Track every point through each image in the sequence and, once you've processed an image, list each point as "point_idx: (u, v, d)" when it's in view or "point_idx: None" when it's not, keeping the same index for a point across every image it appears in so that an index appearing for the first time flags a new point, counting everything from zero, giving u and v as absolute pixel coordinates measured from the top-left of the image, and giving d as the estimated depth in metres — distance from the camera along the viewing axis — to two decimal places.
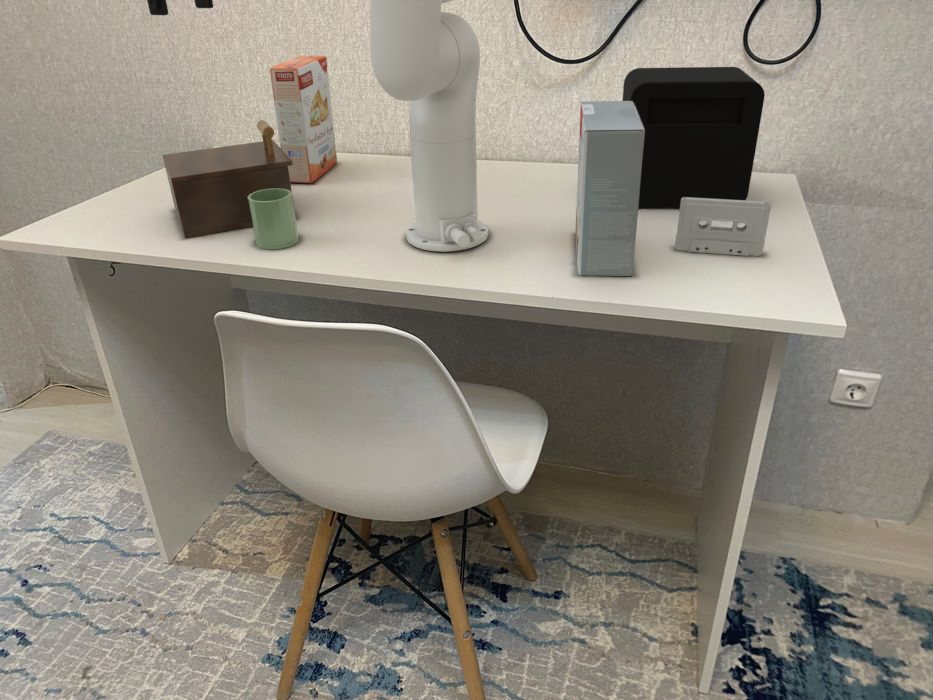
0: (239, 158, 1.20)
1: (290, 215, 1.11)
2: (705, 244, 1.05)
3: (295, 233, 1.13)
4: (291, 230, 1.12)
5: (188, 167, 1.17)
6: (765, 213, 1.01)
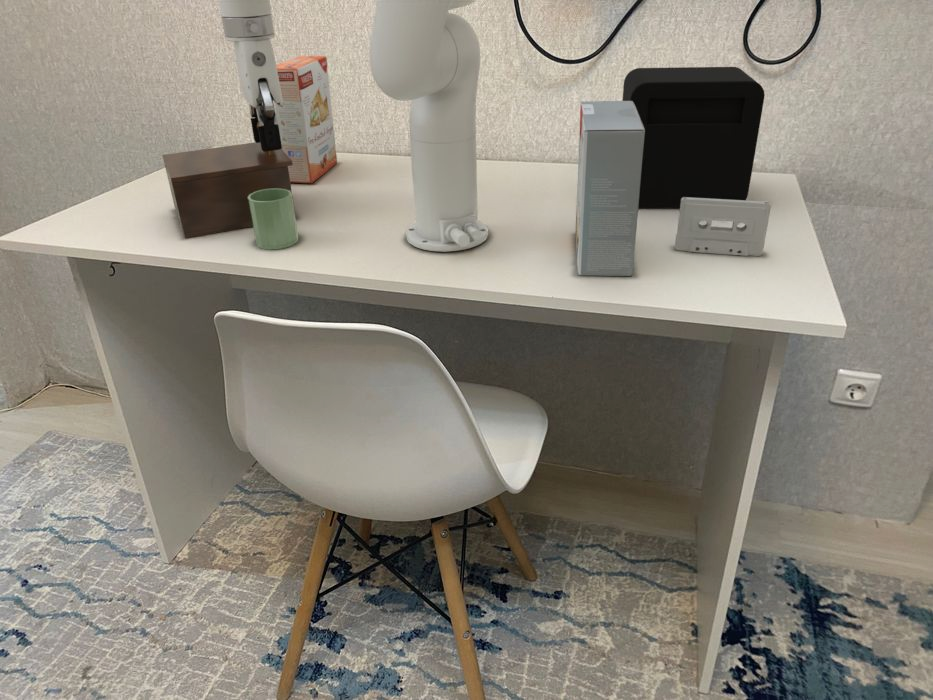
0: (239, 158, 1.20)
1: (290, 215, 1.11)
2: (705, 244, 1.05)
3: (295, 233, 1.13)
4: (291, 230, 1.12)
5: (188, 167, 1.17)
6: (765, 213, 1.01)
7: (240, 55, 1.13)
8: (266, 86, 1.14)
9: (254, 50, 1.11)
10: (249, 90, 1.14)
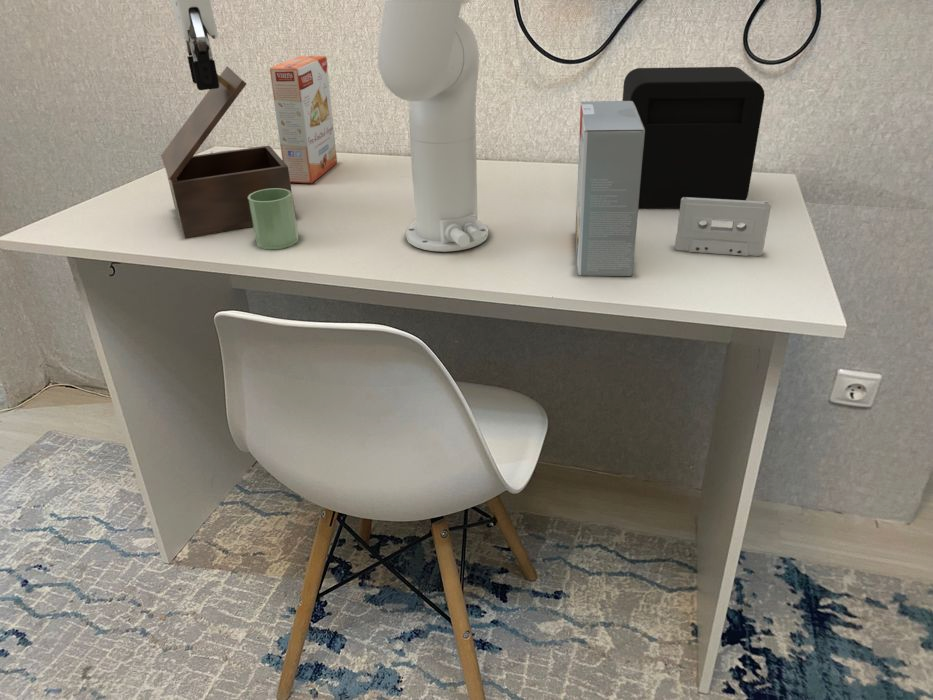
0: (207, 112, 1.15)
1: (290, 215, 1.11)
2: (705, 244, 1.05)
3: (295, 233, 1.13)
4: (291, 230, 1.12)
5: (177, 155, 1.15)
6: (765, 213, 1.01)
7: None
8: (198, 16, 1.06)
9: None
10: (180, 21, 1.06)
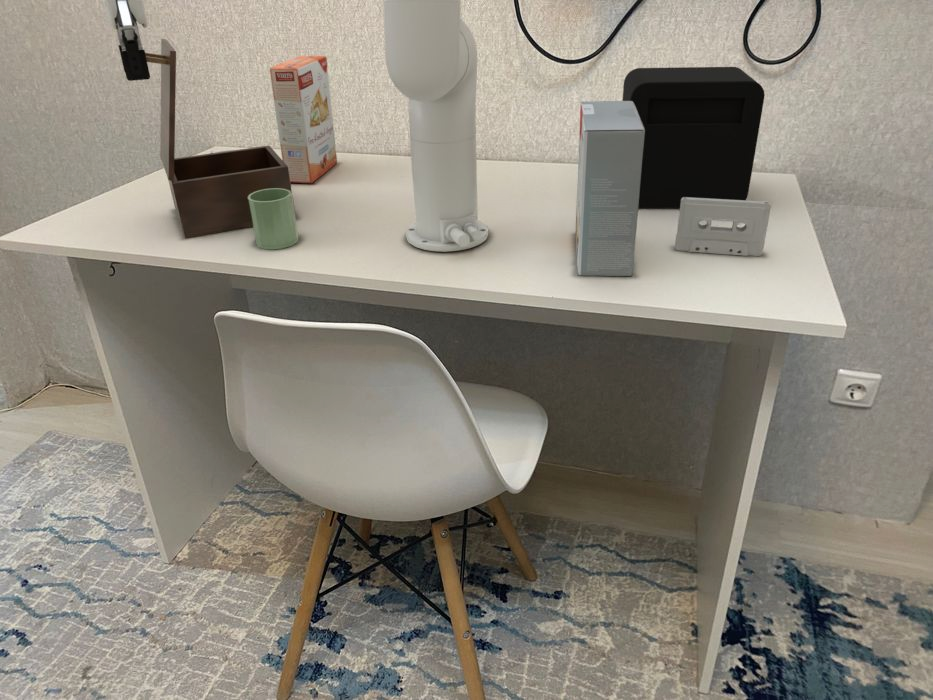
0: None
1: (290, 215, 1.11)
2: (705, 244, 1.05)
3: (295, 233, 1.13)
4: (291, 230, 1.12)
5: (166, 152, 1.14)
6: (765, 213, 1.01)
7: None
8: (125, 3, 1.01)
9: None
10: (106, 8, 1.02)
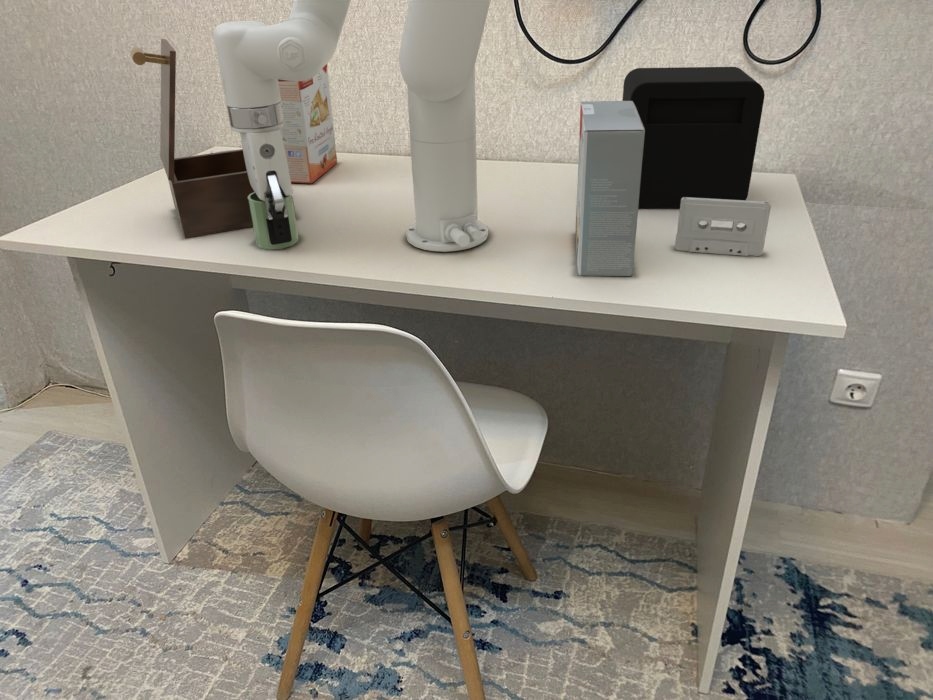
0: (165, 97, 1.12)
1: (290, 215, 1.11)
2: (705, 244, 1.05)
3: (295, 233, 1.13)
4: (291, 230, 1.12)
5: (165, 152, 1.14)
6: (765, 213, 1.01)
7: (247, 146, 1.04)
8: (275, 179, 1.05)
9: (262, 142, 1.02)
10: (256, 183, 1.05)
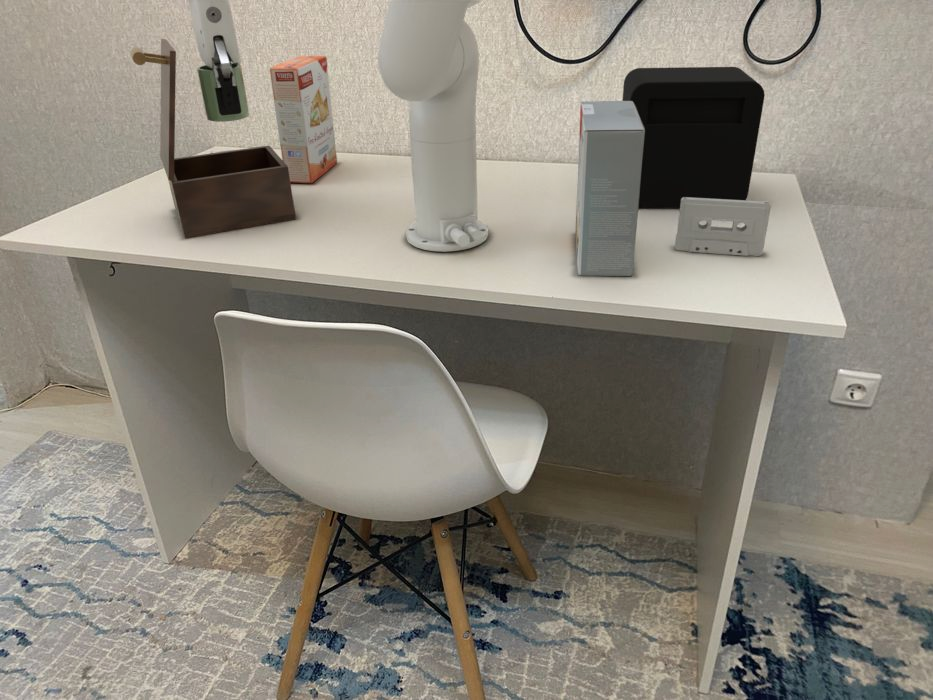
0: (165, 97, 1.12)
1: (240, 87, 1.13)
2: (705, 244, 1.05)
3: (245, 107, 1.15)
4: (240, 103, 1.14)
5: (165, 152, 1.14)
6: (765, 213, 1.01)
7: (194, 10, 1.05)
8: None
9: (208, 5, 1.04)
10: (204, 48, 1.07)
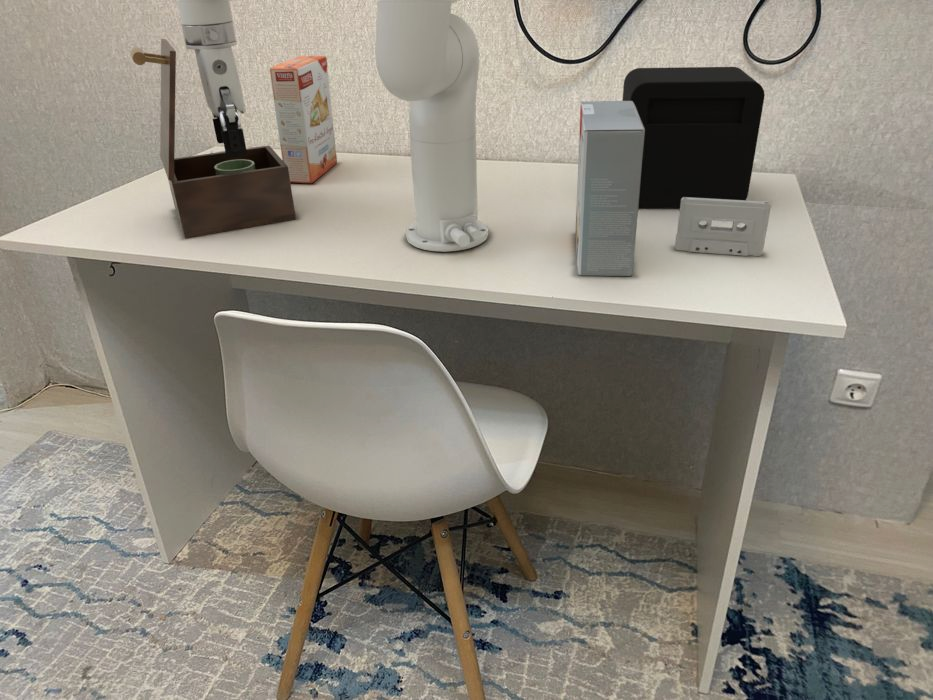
0: (165, 97, 1.12)
1: None
2: (705, 244, 1.05)
3: None
4: None
5: (165, 152, 1.14)
6: (765, 213, 1.01)
7: (201, 63, 1.11)
8: None
9: (214, 58, 1.10)
10: (210, 99, 1.12)
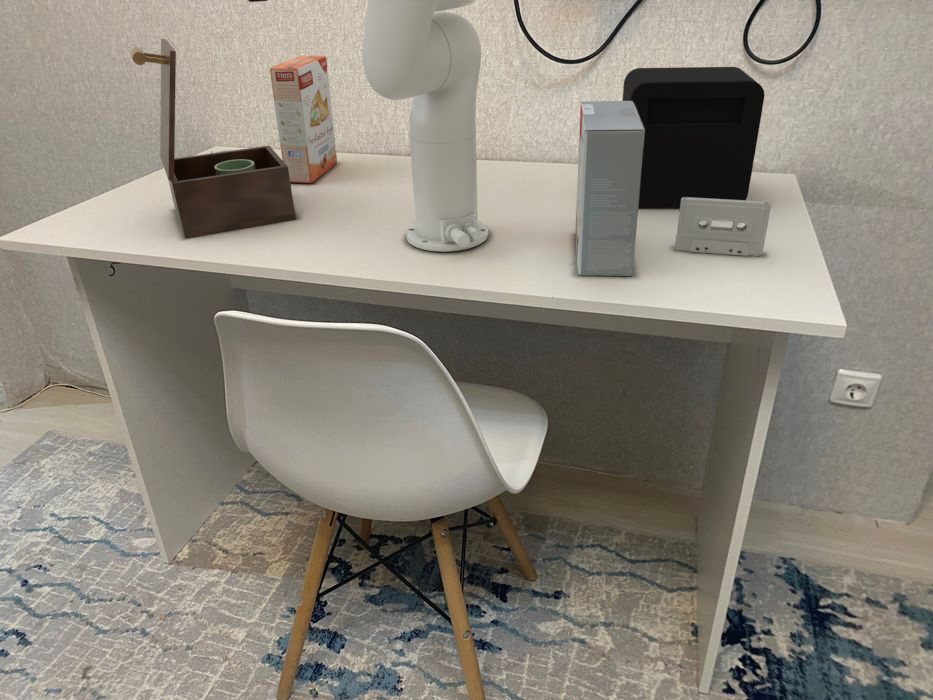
0: (165, 97, 1.12)
1: None
2: (705, 244, 1.05)
3: None
4: None
5: (165, 152, 1.14)
6: (765, 213, 1.01)
7: None
8: None
9: None
10: None
